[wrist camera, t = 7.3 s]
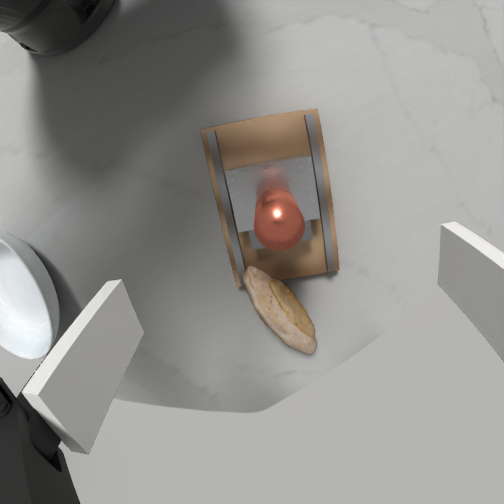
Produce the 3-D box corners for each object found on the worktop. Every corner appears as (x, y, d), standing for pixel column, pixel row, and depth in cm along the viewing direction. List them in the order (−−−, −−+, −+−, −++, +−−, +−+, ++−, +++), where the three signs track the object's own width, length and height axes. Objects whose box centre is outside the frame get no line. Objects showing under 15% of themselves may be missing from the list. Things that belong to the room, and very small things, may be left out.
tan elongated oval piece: (256, 280, 29) (221, 296, 31) (327, 358, 35) (296, 367, 37) (264, 247, 33) (233, 264, 35) (328, 325, 39) (299, 335, 41)
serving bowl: (59, 216, 35) (29, 233, 29) (88, 344, 43) (70, 372, 37) (-25, 218, 35) (-52, 232, 29) (5, 325, 43) (-15, 345, 37)
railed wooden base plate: (203, 129, 31) (198, 129, 29) (315, 109, 30) (319, 107, 27) (237, 281, 37) (236, 291, 35) (336, 264, 36) (341, 273, 34)
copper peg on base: (228, 167, 31) (205, 192, 19) (306, 153, 30) (336, 169, 18) (243, 241, 34) (233, 304, 22) (317, 228, 33) (347, 285, 21)
